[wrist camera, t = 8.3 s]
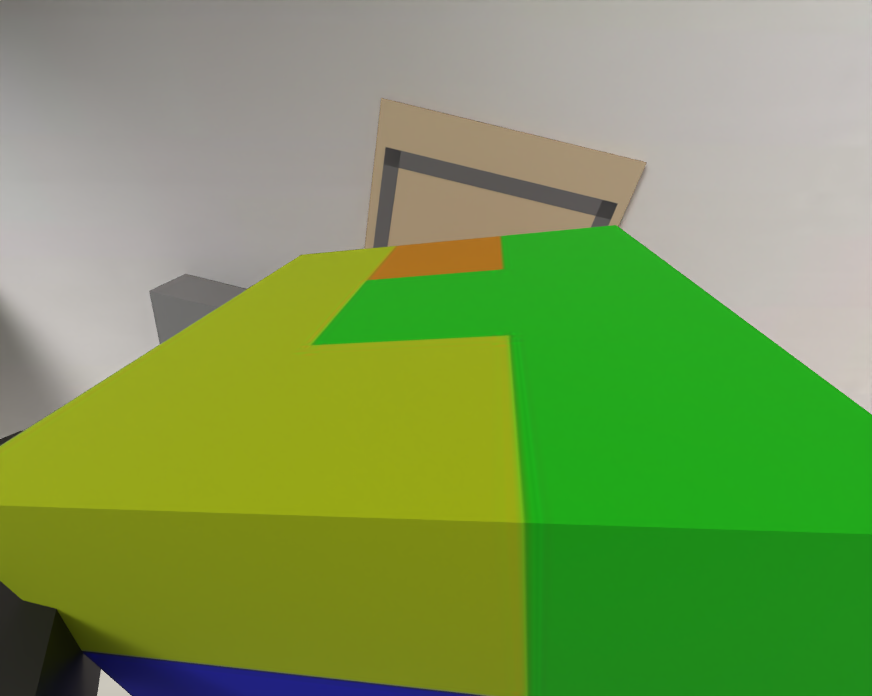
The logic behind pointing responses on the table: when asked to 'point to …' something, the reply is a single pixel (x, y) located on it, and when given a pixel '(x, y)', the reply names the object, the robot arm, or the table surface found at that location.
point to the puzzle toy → (457, 489)
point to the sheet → (485, 181)
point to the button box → (187, 302)
